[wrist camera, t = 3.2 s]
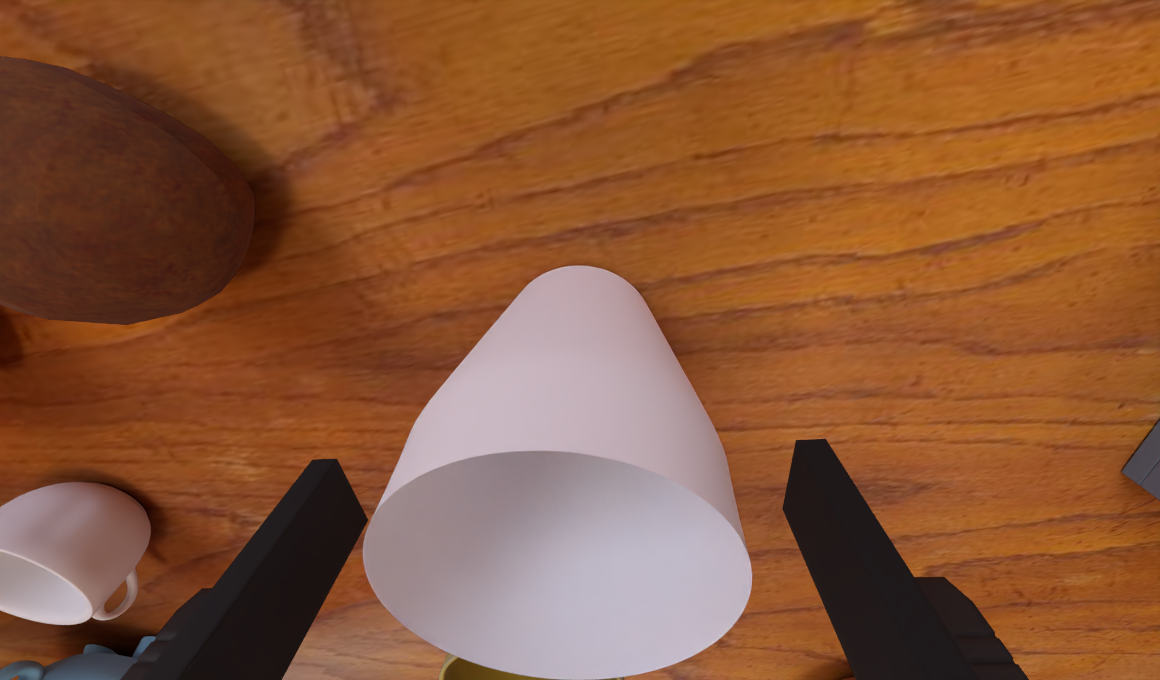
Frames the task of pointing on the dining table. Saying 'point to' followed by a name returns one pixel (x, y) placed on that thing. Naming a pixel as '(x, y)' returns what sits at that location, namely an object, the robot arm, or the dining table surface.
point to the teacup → (70, 552)
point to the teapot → (79, 665)
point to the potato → (110, 203)
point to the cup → (564, 497)
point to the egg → (850, 678)
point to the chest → (1147, 464)
